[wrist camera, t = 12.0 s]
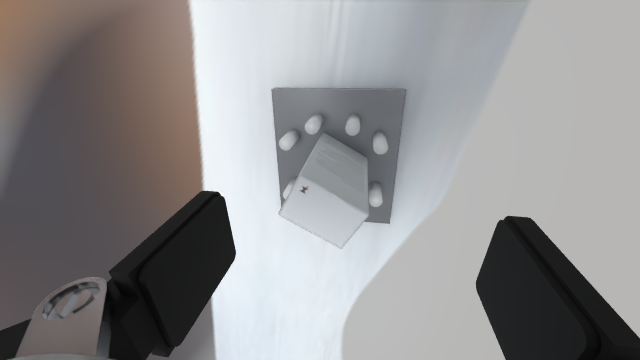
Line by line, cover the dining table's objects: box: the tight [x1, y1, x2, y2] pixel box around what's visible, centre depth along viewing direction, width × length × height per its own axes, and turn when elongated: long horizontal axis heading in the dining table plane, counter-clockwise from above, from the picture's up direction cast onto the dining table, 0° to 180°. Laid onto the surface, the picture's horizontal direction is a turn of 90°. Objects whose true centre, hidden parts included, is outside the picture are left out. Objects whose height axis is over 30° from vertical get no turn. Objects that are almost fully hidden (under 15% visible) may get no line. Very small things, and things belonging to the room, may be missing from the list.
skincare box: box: [279, 132, 369, 249], centre depth 25 cm, size 6×4×12 cm
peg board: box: [272, 88, 406, 224], centre depth 30 cm, size 16×14×5 cm
